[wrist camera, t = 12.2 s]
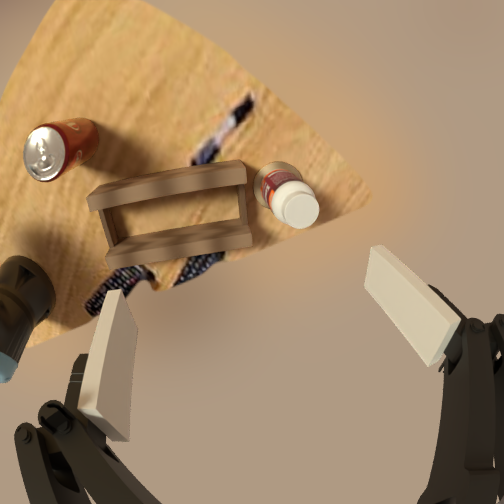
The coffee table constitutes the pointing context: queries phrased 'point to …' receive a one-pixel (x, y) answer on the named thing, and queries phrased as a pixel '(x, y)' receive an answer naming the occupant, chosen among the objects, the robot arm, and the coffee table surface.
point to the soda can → (59, 148)
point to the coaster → (264, 171)
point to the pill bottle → (289, 198)
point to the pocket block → (178, 239)
